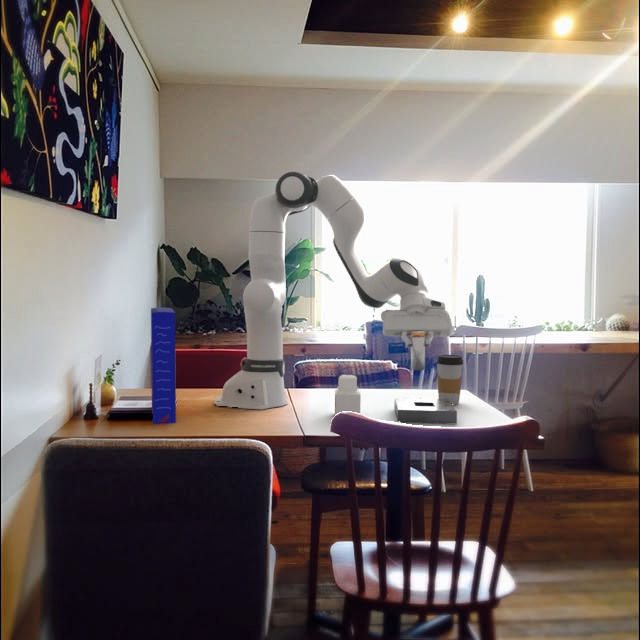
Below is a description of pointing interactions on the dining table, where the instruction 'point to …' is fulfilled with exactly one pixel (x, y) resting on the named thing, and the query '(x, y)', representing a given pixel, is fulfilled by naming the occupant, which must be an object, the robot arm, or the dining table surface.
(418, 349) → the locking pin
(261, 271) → the robot arm
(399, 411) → the collar block
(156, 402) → the cereal box
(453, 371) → the coffee cup
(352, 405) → the medicine bottle
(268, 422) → the dining table surface
